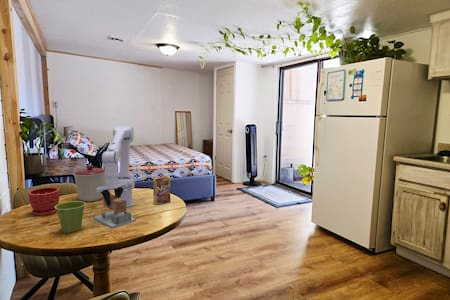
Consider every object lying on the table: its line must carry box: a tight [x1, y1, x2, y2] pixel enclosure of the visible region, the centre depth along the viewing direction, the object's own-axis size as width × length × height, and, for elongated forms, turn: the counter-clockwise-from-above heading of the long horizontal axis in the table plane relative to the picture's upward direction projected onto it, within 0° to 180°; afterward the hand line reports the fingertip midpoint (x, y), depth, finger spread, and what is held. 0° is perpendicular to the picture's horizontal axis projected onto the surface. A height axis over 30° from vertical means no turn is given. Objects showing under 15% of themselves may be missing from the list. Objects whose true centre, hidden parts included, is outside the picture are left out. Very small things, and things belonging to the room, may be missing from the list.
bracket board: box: [92, 210, 137, 229], centre depth 132 cm, size 18×12×4 cm, turn 50°
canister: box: [72, 164, 105, 202], centre depth 164 cm, size 18×18×21 cm
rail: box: [102, 194, 128, 213], centre depth 131 cm, size 14×4×5 cm, turn 50°
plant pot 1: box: [28, 186, 60, 216], centre depth 141 cm, size 13×13×12 cm
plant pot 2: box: [55, 200, 87, 234], centre depth 120 cm, size 12×12×11 cm
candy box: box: [152, 175, 171, 206], centre depth 158 cm, size 9×4×15 cm, turn 123°
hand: (112, 204), depth 132 cm, fingers closed on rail, 4 cm apart
